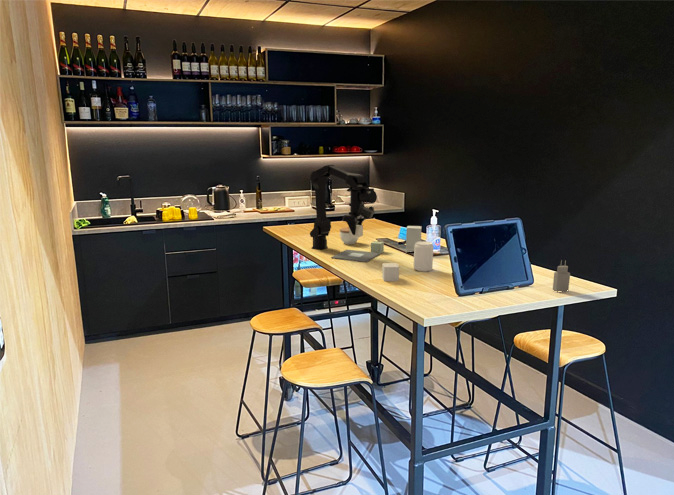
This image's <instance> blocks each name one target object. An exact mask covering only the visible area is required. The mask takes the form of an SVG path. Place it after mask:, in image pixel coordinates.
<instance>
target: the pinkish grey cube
mask: <svg viewBox="0 0 674 495" xmlns="http://www.w3.org/2000/svg"><path fill="white" fill-rule="evenodd" d="M381 270H382V272H381V274H382V275H381V278H382V280H383V282H399V281H400V280H399V279H400V266H399V264H398V263H397V262H394V263H393V262H390V263H389V262H386V263H382V268H381Z"/></svg>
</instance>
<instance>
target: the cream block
mask: <svg viewBox="0 0 674 495" xmlns="http://www.w3.org/2000/svg"><path fill="white" fill-rule="evenodd" d="M349 236H350V237H359V238H360V237H362V236H364V225H363V224H362V225H356V232H355V235H353V234H352V232H351V230H350V228H349Z"/></svg>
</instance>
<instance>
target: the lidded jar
mask: <svg viewBox="0 0 674 495" xmlns="http://www.w3.org/2000/svg"><path fill="white" fill-rule="evenodd" d="M339 237H340V240H341V241H342V242H343V244H344V245H355V244H356V243H357V242H358V240H359V238H360V237H350V236H349V226H348V227H341V228H340V229H339Z"/></svg>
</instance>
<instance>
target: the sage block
mask: <svg viewBox="0 0 674 495" xmlns="http://www.w3.org/2000/svg"><path fill="white" fill-rule="evenodd" d="M384 243H385V242H384V241H377V240H375V241H372V242H371V243H370V252H375V253H380V254H382V253H384V251H385V250H384V249H385V248H384V246H385V244H384Z"/></svg>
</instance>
